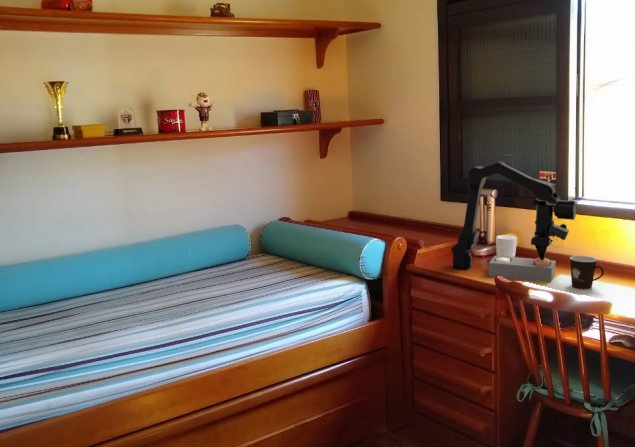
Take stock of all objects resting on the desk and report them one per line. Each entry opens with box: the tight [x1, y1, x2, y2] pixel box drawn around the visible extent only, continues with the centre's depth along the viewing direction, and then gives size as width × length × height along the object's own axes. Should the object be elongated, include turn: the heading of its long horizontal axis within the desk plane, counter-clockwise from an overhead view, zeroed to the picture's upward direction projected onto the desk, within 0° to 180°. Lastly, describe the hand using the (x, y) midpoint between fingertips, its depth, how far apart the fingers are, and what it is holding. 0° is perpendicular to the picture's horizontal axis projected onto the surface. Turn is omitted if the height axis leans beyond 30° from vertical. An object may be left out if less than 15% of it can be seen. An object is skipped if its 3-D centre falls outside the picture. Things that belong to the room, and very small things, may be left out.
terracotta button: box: [534, 257, 551, 266], centre depth 234 cm, size 5×5×4 cm
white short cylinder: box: [496, 257, 510, 263], centre depth 240 cm, size 5×5×4 cm
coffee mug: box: [569, 255, 605, 290], centre depth 219 cm, size 12×9×10 cm
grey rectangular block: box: [488, 254, 556, 283], centre depth 237 cm, size 22×12×5 cm, turn 64°
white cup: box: [495, 234, 518, 257], centre depth 256 cm, size 8×8×10 cm
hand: (542, 259), depth 233 cm, fingers closed, pressing on terracotta button
